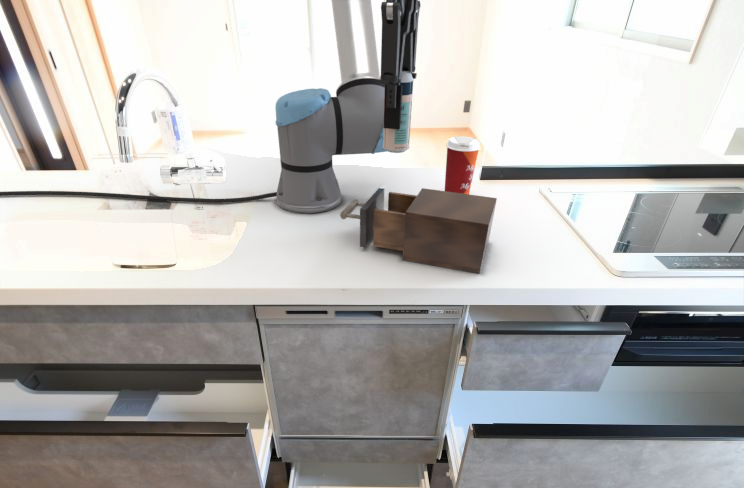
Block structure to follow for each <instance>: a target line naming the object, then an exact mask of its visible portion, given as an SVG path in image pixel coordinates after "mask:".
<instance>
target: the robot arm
mask: <svg viewBox="0 0 744 488" xmlns="http://www.w3.org/2000/svg"><path fill="white" fill-rule="evenodd" d="M372 6H373V5H372V0H331V7H332V15H333V22H334V23H333V24H334V31H335V40H336V49H337V57H338V64H339V73H340V81H341V82H340V84H339V85H338V87H337V88H336V90H335V96H332V95H331V93H330V91H329V90H328V89H326V88H322V87H321V88H304V89H298V90H295V91H294V90H293V91H290V92H287V93H285V94H283V95H281V96H280V97H279V98H278V99H277V100H276V102H275V126H276V127H277V138H278V148H279V157H280V158H279V159H280V168H281V169H280V175H279V178H278V179H279V180H278V185H277V188H276V191H275V192H269V193H263V194H259V195H251V196H243V197H229V198H227V197H226V198H203V197H202V198H201V197H200V198H199V197H177V196H160V195H159V196H158V195H144V194H128V193H114V192H96V191H94V192H93V191H74V190H73V191H72V190H71V191H67V190H18V191H17V190H15V191H13V190H12V191H11V190H10V191H0V197H8V196H9V197H10V196H13V197H14V196H15V197H16V196H72V197H73V196H74V197H75V196H76V197H98V198H113V199H114V198H115V199H133V200H145V201H158V202H159V201H160V202H176V203H177V202H178V203H179V202H181V203H202V204H228V203H229V204H231V203H241V202H242V203H243V202H252V201H260V200H263V199H269V198H275V197H276V202H277V205H278V206H279V208H281V209H283V210H285V211H288V212H292V213H296V214H297V213H298V214H316V213H323V212H327V211H330V210H333V209H335V208H337V207H338V206H339V205H340V204H341V203H342V191H341V188H340V185H339V181H338V178H337V176H336V174H335V171H334V168H333V156H345V155H363V154H371V155H374V154H377V153H379V154H380V153H386V152H388V151H386V150H385V149H384V148H383V129H384V128H387V129H397V130H399V129H400V126H401V107H402V87H403V85H400V83H401V74H402V71H408V72H411V74H412V77H413V79H414V80H416V79H417V74H418V73H417V72H415V71H416V62H417V61H416V59H417V45H418V30H419V16H420V11H421V1H420V0H385V1H381V4H380V12H381V47H380V48H381V49H380V50H381V51H380V66H379V58H378V50H377V49H378V48H377V42H376V31H375V25H374V16H373V15H374V14H373V7H372ZM379 67H380V68H379ZM384 96H385V100H384Z"/></svg>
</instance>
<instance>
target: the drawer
mask: <svg viewBox="0 0 744 488" xmlns="http://www.w3.org/2000/svg"><path fill="white" fill-rule="evenodd" d="M387 195H388V196H387V199H388V200H387V210H386V209H385V188H382V187H378V188H377V189H376V190H375V192H374V193H373V194H372V195H371V196H370V197H369V198H367V200H366V202H359V201H358V199H353V200H352V201H351V202H350V203H349V204H348V205H347V206H346V207H345V208H344V209H343V210H342V211H341V213H340V214H339V216H340V219H341V220H346V219H348V218H350V219H355V220H359V247H360V248H364V249H367V247H368V245H369V244H370V243H371V241H372V240H373V241H372V243H373V245H372V246H373V247H377V248H382V249H389V250H393V251H400V252H403V245H404V230H405V215H406V211H407V210H408V208H409V207H410V205H411V204H412V202H413V201H414V199H415V198H416V197H417V195H418V194H417V195H416V194H409V193H402V192H394V191H388V194H387ZM357 207H360V208H359V214H353V212H354V211H355V210H356V209H357Z"/></svg>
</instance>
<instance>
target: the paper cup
mask: <svg viewBox="0 0 744 488" xmlns="http://www.w3.org/2000/svg"><path fill="white" fill-rule="evenodd" d="M445 146H446V161H445V162H446V163H445V178H444V179H445V180H444V191H447V192H454V193H462V194H469V195H470V191H471V188H472V187H471V186H472V182H473V177H474V173H475V168H476V164H477V159H478V155H479V151H480V150H481V145H480V141H479V139H478V138H475V137H472V136H471V137H470V136H463V135H461V136H458V135H457V136H452V137H450V138H448V141H447V143H446V145H445Z"/></svg>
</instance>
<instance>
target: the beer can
mask: <svg viewBox="0 0 744 488" xmlns="http://www.w3.org/2000/svg"><path fill="white" fill-rule="evenodd" d="M414 81H415V79H413V77H412V74H411V72H408V71H402V74H401V83H400V85H403V87H402V107H401V126H400V129H399V130H397V129H387V128H384V129H383V148H384V149H385V150H386V151H387V152H388V153H393V154H401V153H404V152H406V151H407V150H409V149H410V136H411V123H412V122H411V120H412V107H413V106H412V104H413V91H414V90H413V89H414ZM384 100H385V96H384Z"/></svg>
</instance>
